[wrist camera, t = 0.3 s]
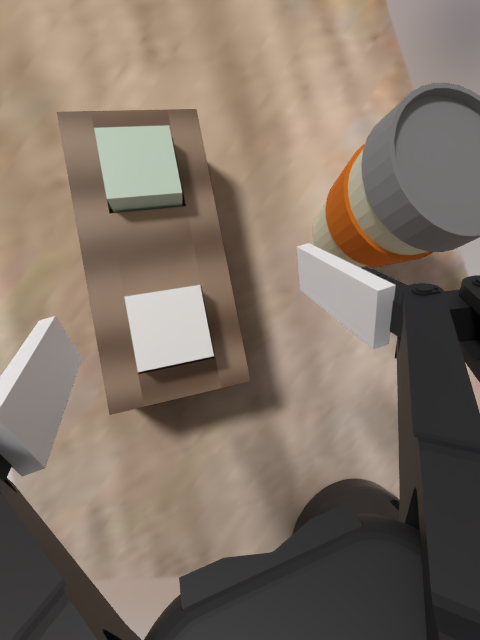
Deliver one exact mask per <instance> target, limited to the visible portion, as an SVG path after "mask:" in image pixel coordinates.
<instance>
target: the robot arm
mask: <svg viewBox="0 0 480 640" xmlns="http://www.w3.org/2000/svg"><path fill="white" fill-rule="evenodd" d="M297 256H298V268H299V281H300V290H301V291H302V292H303V293H304V294H306V295H307V296H308V297H309V298H311V299H312V300H313V301H314V302H316V303H317V304H318V305H319V306H320V307H322V308H323V309H324V310H325V311H327V312H328V313H329V314H330V315H331V316H333V317H334V318H335V319H336V320H338V321H339V322H340V323H341V324H342V325H344V326H345V327H346V328H347V329H349V330H350V331H351V332H352V333H354V334H355V335H356V336H357V337H358V338H360V339H361V340H362V341H363V342H365V343H366V344H367V345H368V346H369V347H371V348H372V349H376V348H379V347H381V346H384V345H387V344H389V339H390V332H392V333H393V334H395V335H396V336H398V337H397V345H396V352H395V358H397V385H398V432H399V479H400V500H399V499H398V498H397V497H395V496H394V495H393V494H391V493H390V492H388V491H387V490H386V489H384V488H383V487H381V486H380V485H378V484H376V483H374V482H371V481H368V480H363V479H347V480H342V481H339V482H336V483H333V484H331V485H329V486H328V487H326V488H324V489H323V490H321V491H320V492H319V493H318V494H317V495H315V496H314V497H313V498H312V499H311V501H310V502H309V503H308V504H307V505H306V507H305V508H304V510H303V511H302V513H301V515H300V516H299V518H298V520H297V523H296V525H295V528H294V531H293V534H292V536H291V537H290V538H289V539H287V540H286V541H285V542H284V543H283V544H282V545H281V546H280V547H278V548H277V549H276V550H275V551H273V552H271V553H264V554H255V555H246V556H237V557H227V558H222V559H220V560H218V561H216V562H213V563H211V564H209V565H207V566H205V567H202V568H200V569H198V570H196V571H193V572H191V573H189V574H187V575H184V576H182V577H180V578H179V580H180V593H181V594H180V595H179V596H178V597H177V598H176V599H174V600H173V602H172V603H171V604H170V605H169V606H168V607H167V608H166V609H165V610H164V611H163V613H162V614H161V615H160V617H159V618H158V619H157V621H156V622H155V623H154V625H153V626H152V628H151V629H150V631H149V633H148V634H147V636H146V637H145V639H144V640H480V413H479V409H478V406H477V402H476V399H475V395H474V392H473V389H472V385H471V382H470V378H469V375H468V371H467V368H466V364H467V365H468V367H469V368H470V370H471V371H472V372H473V374H474V375H475V377H476V378H477V379H478V381H479V382H480V276H470V277H467V278H464V279H463V281H462V284H461V288H460V290H453V291H445V292H444V291H443V289H442V288H440V287H438V286H435V285H431V284H423V283H421V284H413V285H409V286H408V285H405V284H403V283H401V282H399V281H397V280H395V279H392V278H390V277H389V278H388V276H386V275H384V274H382V273H379V272H377V271H375V270H372V269H367V268H359V267H357V266H355V265H353V264H351V263H349V262H347V261H345V260H343V259H341V258H339V257H337V256H335V255H332V254H330V253H328V252H326V251H324V250H322V249H320V248H318V247H316V246H314V245H312V244H310V243H308V244H304V245H301V246H297ZM81 359H82V358H81V356H80V354H79V353H78V351H77V350H76V348H75V346H74V345H73V343H72V342H71V340H70V338H69V337H68V335H67V334H66V332H65V330H64V329H63V327H62V326H61V324H60V322H59V321H58V319H57V318H56V316H53V317H50V318H46V319H43V320H39V322H38V323H37V325H36V326H35V327H34V329H33V330H32V332H31V333H30V335H29V336H28V338H27V339H26V341H25V342H24V343H23V345H22V346H21V348H20V349H19V351H18V352H17V354H16V355H15V356H14V358H13V359H12V361H11V362H10V364H9V365H8V367H7V368H6V370H5V371H4V372H3V374H2V375H1V377H0V640H141V639H140V638H139V637H138V636H137V635H136V634H135V633H134V632H133V631H132V630H131V629H130V628H129V627H128V626H127V625H126V624H125V623H124V621H123V620H122V619H121V618H120V617H119V615H118V614H117V613H116V612H115V610H114V609H113V608H112V607H111V605H110V604H109V603H108V602H107V600H106V599H105V598H104V597H103V595H102V594H101V593H100V592H99V590H98V589H97V588H96V587H95V585H94V584H93V583H92V582H91V580H90V579H89V578H88V577H87V575H86V574H85V573H84V572H83V570H82V569H81V568H80V567H79V565H78V564H77V563H76V562H75V560H74V559H73V558H72V556H71V555H70V554H69V553H68V551H67V550H66V549H65V548H64V546H63V545H62V544H61V543H60V541H59V540H58V539H57V538H56V536H55V535H54V534H53V533H52V531H51V530H50V529H49V528H48V526H47V525H46V524H45V523H44V521H43V520H42V519H41V518H40V516H39V515H38V514H37V513H36V511H35V510H34V509H33V508H32V506H31V505H30V504H29V503H28V501H27V500H26V499H25V498H24V496H23V495H22V494H21V493H20V491H19V490H18V489H17V488H16V486H15V485H14V484H13V483H12V482H11V481H10V480H9V479H8V478H7V476H8V473H9V471H10V469H11V467H12V468H14V469H15V470H16V471H17V472H18V473H19V474H20V475H21V476H24V475H27V474H30V473H33V472H35V471H38V470H41V469H44V468H45V467H46V464H47V461H48V458H49V455H50V452H51V449H52V446H53V443H54V440H55V437H56V434H57V431H58V428H59V425H60V422H61V419H62V416H63V413H64V410H65V407H66V404H67V401H68V398H69V395H70V392H71V389H72V386H73V383H74V380H75V377H76V374H77V371H78V368H79V365H80V362H81ZM465 363H466V364H465Z"/></svg>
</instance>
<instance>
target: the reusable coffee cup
mask: <svg viewBox="0 0 480 640" xmlns="http://www.w3.org/2000/svg"><path fill="white" fill-rule="evenodd" d="M479 237H480V96H479V95H477V94H476V93H474V92H472V91H471V90H469V89H466V88H464V87H462V86H459V85H454V84H449V83H432V84H428V85H425V86H421V87H420V88H418V89H416V90H414V91H413V92H411V93H410V94H409V95H408V96H407V97H406V98H404V99H403V100H402V101H401V102H400V103H399V104H398V105H397V106H396V107H395V108H394V109H393V110H391V111H390V112H389V113H388V114H387V115H386V116H385V117H384V118H383V119H382V120H381V121H380V122H379V123H378V124H377V125H376V126H375V127H374V128H373V130H372V131H371V133H370V134H369V136H368V138H367V140H366V143H365V144H364V145H363V146H362V147H361V148H360V149H358V150H357V151H356V152H355V154H354V155H353V157H352V158H351V159H350V161H349V162H348V164H347V165H346V167H345V168H344V170H343V171H342V173H341V174H340V176H339V177H338V179H337V180H336V182H335V183H334V185H333V186H332V188H331V189H330V191H329V194H328V197H327V201H326V202H325V204H324V205H323V207H322V208H321V210H320V211H319V213H318V214H317V216H316V218H315V220H314V224H313V239H314V243H315V246H316V247H318V248H320V249H322V250H324V251H326V252H328V253H330V254H332V255H335V256H337V257H339V258H341V259H343V260H345V261H347V262H349V263H351V264H353V265H355V266H357V267H359V268H361V267H365V266H375V267H380V266H386V265H391V264H395V263H400V262H405V261H409V260H414V259H418V258H422V257H425V256H427V255H429V254H431V253H433V252H444V251H449V250H453V249H455V248H458V247H460V246H462V245H464V244H466V243H468V242H470V241H473V240H475V239H477V238H479Z"/></svg>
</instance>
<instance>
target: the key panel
mask: <svg viewBox="0 0 480 640" xmlns="http://www.w3.org/2000/svg"><path fill="white" fill-rule="evenodd" d="M57 115H58V121H59V127H60V132H61V138H62V144H63V150H64V155H65V161H66V167H67V173H68V178H69V184H70V190H71V196H72V201H73V207H74V213H75V219H76V224H77V230H78V236H79V242H80V247H81V253H82V259H83V265H84V270H85V276H86V282H87V288H88V293H89V299H90V305H91V311H92V316H93V322H94V328H95V334H96V339H97V345H98V351H99V357H100V362H101V368H102V374H103V380H104V385H105V391H106V397H107V402H108V408H109V414H110V415H111V414H115V413H120V412H124V411H128V410H132V409H136V408H141V407H145V406H149V405H153V404H157V403H161V402H166V401H170V400H174V399H178V398H182V397H187V396H191V395H195V394H199V393H203V392H207V391H212V390H216V389H220V388H224V387H228V386H233V385H237V384H241V383H245V382H249V381H250V376H249V371H248V366H247V361H246V356H245V351H244V346H243V341H242V336H241V331H240V326H239V321H238V316H237V311H236V306H235V301H234V296H233V291H232V286H231V281H230V276H229V271H228V265H227V260H226V255H225V250H224V245H223V240H222V235H221V230H220V225H219V220H218V215H217V210H216V205H215V200H214V195H213V190H212V185H211V180H210V175H209V170H208V165H207V160H206V155H205V150H204V145H203V140H202V135H201V130H200V125H199V120H198V115H197V110H196V109H180V110H130V111H80V112H57ZM165 125H169V127H170V132H171V137H172V142H173V148H174V153H175V158H176V163H177V168H178V173H179V179H180V184H181V189H182V207H173V208H162V209H152V210H141V211H130V212H120V213H114V212H113V210H112V208H111V206H110V204H109V202H108V200H107V197H106V192H105V186H104V181H103V175H102V169H101V164H100V158H99V153H98V147H97V142H96V136H95V131H94V128H103V127H134V126H165ZM196 285H200V287H201V292H202V297H203V302H204V307H205V312H206V318H207V323H208V328H209V333H210V338H211V343H212V349H213V354H214V356H212V357H208V358H203V359H198V360H193V361H189V362H184V363H179V364H175V365H170V366H165V367H161V368H156V369H151V370H146V371H142V372H138V370H137V364H136V359H135V353H134V348H133V342H132V337H131V331H130V325H129V320H128V314H127V309H126V303H125V298H124V297H125V296H131V295H138V294H144V293H151V292H157V291H164V290H170V289H176V288H183V287H189V286H196Z"/></svg>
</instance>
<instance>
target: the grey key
mask: <svg viewBox="0 0 480 640" xmlns="http://www.w3.org/2000/svg"><path fill="white" fill-rule="evenodd" d="M124 298H125V303H126V309H127V314H128V320H129V325H130V331H131V337H132V342H133V348H134V353H135V359H136V364H137V370H138V372H142V371H146V370H151V369H156V368H161V367H165V366H170V365H175V364H179V363H184V362H189V361H193V360H198V359H203V358H208V357H212V356H214V354H213V349H212V343H211V338H210V333H209V328H208V323H207V318H206V312H205V307H204V302H203V297H202V292H201V287H200V285H196V286H189V287H183V288H176V289H170V290H164V291H157V292H151V293H144V294H138V295H131V296H125V297H124Z"/></svg>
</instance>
